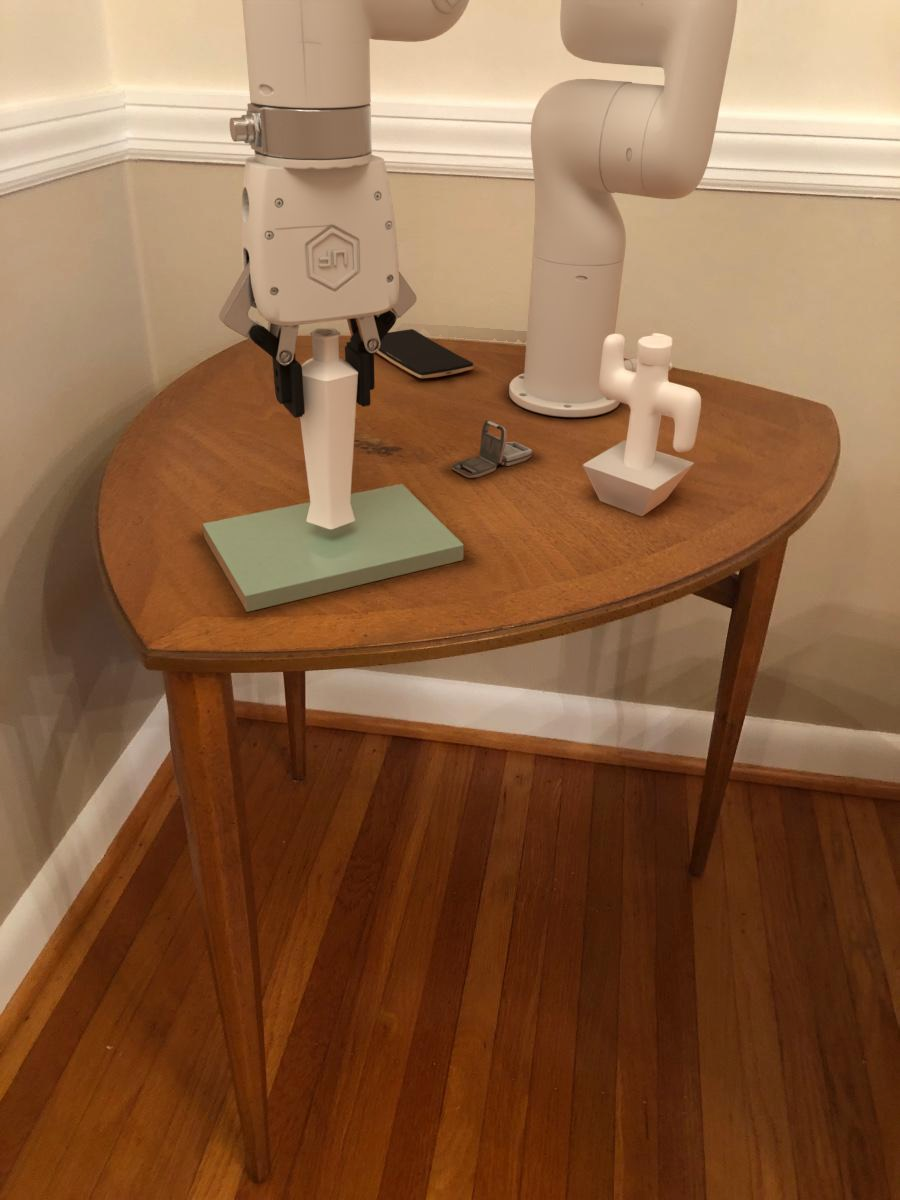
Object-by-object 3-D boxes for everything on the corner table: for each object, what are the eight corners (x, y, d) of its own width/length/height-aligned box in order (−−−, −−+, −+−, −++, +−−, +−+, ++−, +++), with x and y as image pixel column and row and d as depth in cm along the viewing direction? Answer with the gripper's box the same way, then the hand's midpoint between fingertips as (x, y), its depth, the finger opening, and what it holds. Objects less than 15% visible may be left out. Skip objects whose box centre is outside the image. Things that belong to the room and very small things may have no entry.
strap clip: (514, 448, 95) (516, 408, 92) (534, 458, 93) (538, 417, 91) (448, 470, 90) (450, 428, 88) (469, 481, 88) (471, 438, 86)
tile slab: (402, 498, 85) (402, 483, 84) (463, 560, 76) (464, 544, 75) (204, 538, 78) (202, 523, 77) (246, 612, 69) (244, 595, 68)
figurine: (659, 532, 81) (688, 362, 73) (567, 497, 86) (584, 335, 78) (698, 503, 86) (729, 340, 77) (609, 472, 91) (629, 316, 82)
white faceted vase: (351, 534, 73) (348, 345, 65) (297, 527, 74) (287, 338, 66) (367, 508, 77) (366, 326, 69) (316, 501, 78) (308, 320, 70)
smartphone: (421, 373, 108) (361, 336, 119) (421, 382, 109) (361, 345, 119) (475, 363, 112) (412, 328, 122) (475, 372, 112) (412, 336, 123)
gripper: (196, 150, 54) (229, 443, 64) (456, 138, 61) (449, 406, 71) (166, 132, 60) (201, 405, 70) (407, 123, 66) (408, 373, 76)
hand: (326, 402), depth 70 cm, fingers closed on white faceted vase, 4 cm apart
